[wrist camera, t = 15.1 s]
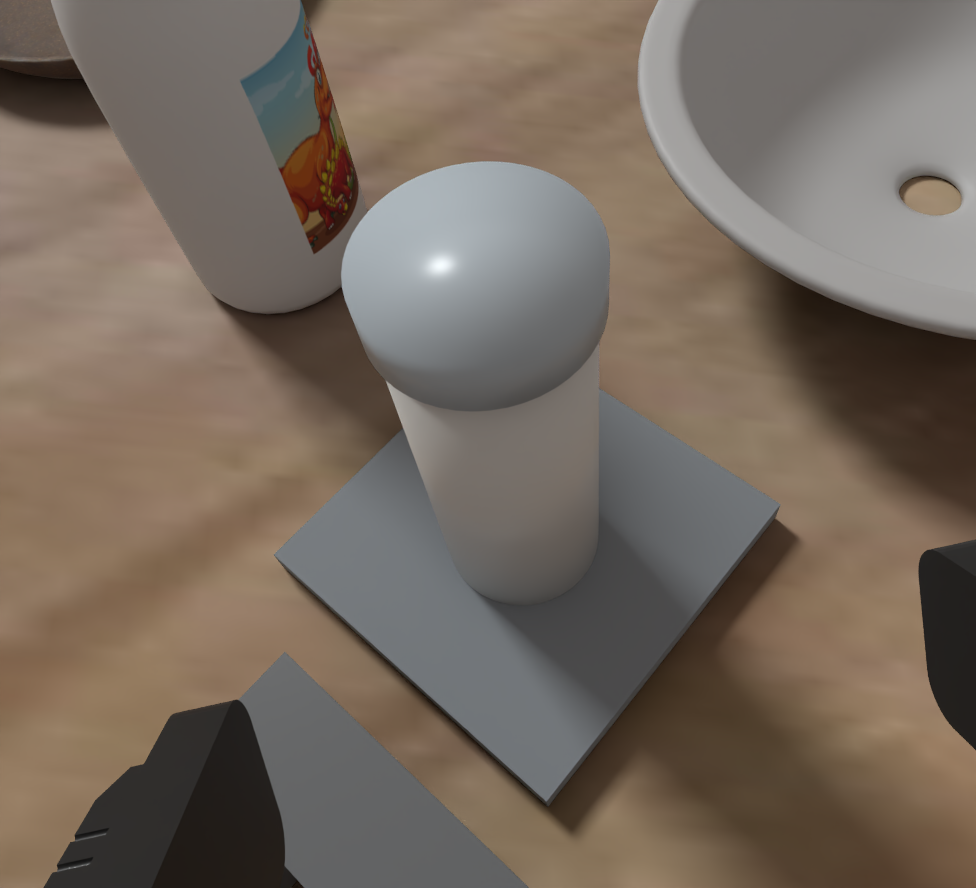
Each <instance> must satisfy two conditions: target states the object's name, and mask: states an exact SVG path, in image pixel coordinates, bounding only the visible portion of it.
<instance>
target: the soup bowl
mask: <svg viewBox="0 0 976 888" xmlns="http://www.w3.org/2000/svg"><path fill="white" fill-rule="evenodd" d="M638 92H639V99H640V106H641V111H642V114H643V117H644V121H645V124H646V128H647V131H648V135H649V137H650V139H651V141H652V143H653V146H654V148H655V150H656V152H657V155H658V157H659V159H660V160H661V162H662V163H663V165H664V167H665V168H666V170H667V172H668V173H669V175H670V177H671V178H672V180H673V181H674V182H675V184H676V185H677V186H678V187H679V189H680V190H681V191H682V192H683V194H684V195H685V196H686V198H687V199H688V200H689V201H690V202H691V203H692V205H693V206H694V207H695V208H696V209H697V210H698V211H699V212H700V213H701V214H702V215H703V216H704V217H705V218H706V219H707V220H708V221H709V222H710V223H711V224H712V225H713V226H715V227H716V228H717V229H718V230H719V231H721V232H722V233H723V234H724V235H725V236H727V237H728V238H729V239H730V240H731V241H732V242H734V243H735V244H736V245H737V246H739V247H740V248H742V249H743V250H745V251H746V252H748V253H749V254H750V255H752V256H753V257H755V258H756V259H758V260H759V261H761V262H762V263H763V264H765V265H767V266H768V267H770V268H772V269H774V270H775V271H777V272H779V273H780V274H782V275H784V276H786V277H787V278H789V279H791V280H793V281H794V282H796V283H798V284H800V285H802V286H804V287H806V288H809V289H811V290H813V291H815V292H817V293H819V294H821V295H823V296H825V297H828V298H830V299H832V300H834V301H837V302H839V303H842V304H845V305H847V306H850V307H852V308H855V309H858V310H860V311H863V312H865V313H868V314H871V315H874V316H877V317H880V318H884V319H887V320H890V321H894V322H897V323H900V324H904V325H907V326H910V327H914V328H919V329H923V330H927V331H932V332H936V333H941V334H945V335H949V336H954V337H960V338H966V339H973V340H976V0H659V1H658V3H657V5H656V7H655V9H654V11H653V13H652V15H651V17H650V19H649V22H648V25H647V28H646V31H645V34H644V37H643V41H642V44H641V49H640V55H639V62H638ZM917 176H935V177H939V178H942V179H945V180H947V181H949V182H951V183H952V184H953V185H954V186H956V188H957V189H958V190H959V192H960V194H961V197H962V202H961V206H960V207H959V209H958V210H956V211H955V212H953V213H950V214H946V215H940V216H932V215H926V214H922V213H919V212H916V211H914V210H912V209H911V208H909V207H908V206H907V205H906V204H905V203H904V202H903V201H902V199H901V198H900V195H899V190H900V187H901V186H902V184H903V183H904V182H906V181H907V180H909V179H911V178H913V177H917Z"/></svg>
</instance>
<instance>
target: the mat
mask: <svg viewBox="0 0 976 888" xmlns="http://www.w3.org/2000/svg"><path fill="white" fill-rule="evenodd" d="M780 505H781V504H779V503H778V502H776V501H775V500H773V499H771V498H770V497H768V496H767V495H765V494H764V493H762V492H760V491H759V490H757V489H756V488H754V487H753V486H751V485H750V484H748V483H746V482H745V481H743V480H742V479H740V478H739V477H737V476H735V475H734V474H732V473H731V472H729V471H728V470H726V469H725V468H723V467H721V466H720V465H718V464H717V463H715V462H714V461H712V460H711V459H709V458H707V457H706V456H704V455H703V454H701V453H700V452H698V451H696V450H695V449H693V448H692V447H690V446H689V445H687V444H686V443H684V442H682V441H681V440H679V439H678V438H676V437H675V436H673V435H671V434H670V433H668V432H667V431H665V430H664V429H662V428H661V427H659V426H657V425H656V424H654V423H653V422H651V421H650V420H648V419H646V418H645V417H643V416H642V415H640V414H639V413H637V412H636V411H634V410H632V409H631V408H629V407H628V406H626V405H625V404H623V403H621V402H620V401H618V400H617V399H615V398H614V397H612V396H611V395H609V394H607V393H606V392H604V391H603V390H601V389H600V388H599V536H598V546H597V550H596V554H595V557H594V559H593V562H592V564H591V566H590V567H589V569H588V571H587V572H586V573H585V575H584V576H583V578H582V579H581V580H580V581H579V582H578V583H577V584H576V585H575V586H573V587H572V588H571V589H570V590H568V591H567V592H565V593H564V594H562V595H560V596H559V597H556V598H554V599H552V600H549V601H546V602H543V603H539V604H533V605H509V604H504V603H500V602H497V601H494V600H491V599H489V598H487V597H485V596H483V595H481V594H480V593H478V592H477V591H475V590H474V589H473V588H472V587H470V586H469V585H468V584H467V583H466V582H465V581H464V579H463V578H462V577H461V576H460V574H459V572H458V571H457V569H456V567H455V565H454V563H453V561H452V558H451V555H450V553H449V550H448V547H447V545H446V542H445V539H444V537H443V534H442V531H441V528H440V526H439V523H438V520H437V518H436V515H435V512H434V510H433V507H432V504H431V501H430V499H429V496H428V493H427V491H426V488H425V485H424V483H423V480H422V477H421V474H420V472H419V469H418V466H417V464H416V461H415V458H414V456H413V453H412V450H411V448H410V445H409V442H408V439H407V437H406V434H405V431H404V429H403V428H402V429H401V430H400V431H399V432H398V433H397V434H396V435H395V436H394V437H393V438H392V439H391V440H390V441H389V442H388V443H387V444H386V445H385V446H384V447H383V448H382V449H381V450H380V451H379V452H378V453H377V454H376V455H375V456H374V457H373V458H372V459H371V460H370V461H369V462H368V463H367V464H366V465H365V466H364V467H363V468H362V469H361V470H360V471H359V472H358V473H356V474H355V475H354V476H353V477H352V478H351V479H350V480H349V481H348V482H347V483H346V484H345V485H344V486H343V487H342V488H341V489H340V490H339V491H338V492H337V493H336V494H335V495H334V496H333V497H332V498H331V499H330V500H329V501H328V502H327V503H326V504H325V505H324V506H323V507H322V508H321V509H320V510H319V511H318V512H317V513H316V514H315V515H314V516H313V517H312V518H311V519H310V520H309V521H308V522H307V523H306V524H304V525H303V526H302V527H301V528H300V529H299V530H298V531H297V532H296V533H295V534H294V535H293V536H292V537H291V538H290V539H289V540H288V541H287V542H286V543H285V544H284V545H283V546H282V547H281V548H280V549H279V550H278V551H277V552H276V553H275V554H274V556H275V557H276V558H277V560H278V561H279V562H280V563H281V565H282V566H283V567H284V568H285V569H287V570H288V571H289V572H290V573H291V574H292V575H293V576H294V577H295V578H296V579H298V580H299V581H300V582H301V583H302V584H303V585H304V586H305V587H306V588H307V589H309V590H310V591H311V592H312V593H313V594H314V595H315V596H316V597H317V598H319V599H320V600H321V601H322V602H323V603H324V604H325V605H326V606H327V607H328V608H330V609H331V610H332V611H333V612H334V613H335V614H336V615H337V616H338V617H339V618H341V619H342V620H343V621H344V622H345V623H346V624H347V625H348V626H349V627H350V628H352V629H353V630H354V631H355V632H356V633H357V634H358V635H359V636H360V637H361V638H363V639H364V640H365V641H366V642H367V643H368V644H369V645H370V646H371V647H373V648H374V649H375V650H376V651H377V652H378V653H379V654H380V655H381V656H382V657H384V658H385V659H386V660H387V661H388V662H389V663H390V664H391V665H392V666H393V667H395V668H396V669H397V670H398V671H399V672H400V673H401V674H402V675H403V676H404V677H406V678H407V679H408V680H409V681H410V682H411V683H412V684H413V685H414V686H416V687H417V688H418V689H419V690H420V691H421V692H422V693H423V694H424V695H425V696H427V697H428V698H429V699H430V700H431V701H432V702H433V703H434V704H435V705H436V706H438V707H439V708H440V709H441V710H442V711H443V712H444V713H445V714H446V715H447V716H449V717H450V718H451V719H452V720H453V721H454V722H455V723H456V724H457V725H459V726H460V727H461V728H462V729H463V730H464V731H465V732H466V733H467V734H468V735H470V736H471V737H472V738H473V739H474V740H475V741H476V742H477V743H478V744H479V745H481V746H482V747H483V748H484V749H485V750H486V751H487V752H488V753H489V754H490V755H492V756H493V757H494V758H495V759H496V760H497V761H498V762H499V763H500V764H502V765H503V766H504V767H505V768H506V769H507V770H508V771H509V772H510V773H511V774H513V775H514V776H515V777H516V778H517V779H518V780H519V781H520V782H521V783H522V784H524V785H525V786H526V787H527V788H528V789H529V790H530V791H531V792H532V793H533V794H535V795H536V796H537V797H538V798H539V799H540V800H541V801H542V802H543V803H545V804H546V805H547V806H549V805H550V804H551V802H552V801H553V800H554V799H555V797H556V796H557V795H558V793H559V792H560V791H561V790H562V788H563V787H564V786H565V785H566V783H567V782H568V781H569V779H570V778H571V777H572V776H573V774H574V773H575V772H576V771H577V769H578V768H579V767H580V765H581V764H582V763H583V762H584V760H585V759H586V758H587V757H588V755H589V754H590V753H591V751H592V750H593V749H594V748H595V746H596V745H597V744H598V743H599V741H600V740H601V739H602V737H603V736H604V735H605V734H606V732H607V731H608V730H609V729H610V727H611V726H612V725H613V723H614V722H615V721H616V720H617V718H618V717H619V716H620V715H621V713H622V712H623V711H624V709H625V708H626V707H627V706H628V704H629V703H630V702H631V700H632V699H633V698H634V697H635V695H636V694H637V693H638V692H639V690H640V689H641V688H642V686H643V685H644V684H645V683H646V681H647V680H648V679H649V678H650V676H651V675H652V674H653V672H654V671H655V670H656V669H657V667H658V666H659V665H660V664H661V662H662V661H663V660H664V658H665V657H666V656H667V655H668V653H669V652H670V651H671V650H672V648H673V647H674V646H675V644H676V643H677V642H678V641H679V639H680V638H681V637H682V636H683V634H684V633H685V632H686V630H687V629H688V628H689V627H690V625H691V624H692V623H693V622H694V620H695V619H696V618H697V616H698V615H699V614H700V613H701V611H702V610H703V609H704V608H705V606H706V605H707V604H708V602H709V601H710V600H711V599H712V597H713V596H714V595H715V594H716V592H717V591H718V590H719V588H720V587H721V586H722V585H723V583H724V582H725V581H726V580H727V578H728V577H729V576H730V574H731V573H732V572H733V571H734V569H735V568H736V567H737V566H738V564H739V563H740V562H741V560H742V559H743V558H744V557H745V555H746V554H747V553H748V552H749V550H750V549H751V548H752V546H753V545H754V544H755V543H756V541H757V540H758V539H759V538H760V536H761V535H762V534H763V532H764V531H765V530H766V529H767V527H768V526H769V525H770V524H771V522H772V521H773V520H774V518H775V517H776V515H777V512H778V510H779V507H780Z"/></svg>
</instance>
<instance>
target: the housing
mask: <svg viewBox="0 0 976 888" xmlns="http://www.w3.org/2000/svg"><path fill="white" fill-rule="evenodd" d="M239 701H241V702H242V703H243V704H244V706H245V707H246V709H247V711H248V713H249V716H250V718H251V721H252V724H253V728H254V731H255V734H256V737H257V740H258V744H259V747H260V750H261V753H262V756H263V760H264V763H265V766H266V769H267V772H268V776H269V779H270V782H271V785H272V788H273V791H274V795H275V798H276V801H277V804H278V807H279V811H280V814H281V819H282V823H283V830H284V838H285V865H284V872H283V877H282V881H281V885H280V888H291V887H292V886H293V885H294V884H295V882H296V881H297V880H298V881H299V882H300V884H301V885H302V886H303V887H304V888H529V887H528V886H527V885H526V884H525V883H523V882H522V881H521V880H520V879H519V878H518V877H517V876H516V875H515V874H514V873H513V872H512V871H511V870H510V869H509V868H508V867H507V866H506V865H505V864H504V863H503V862H502V861H501V860H500V859H499V858H498V857H497V856H496V855H494V854H493V853H492V852H491V851H490V850H489V849H488V848H487V847H486V846H485V845H484V844H483V843H482V842H481V841H480V840H479V839H478V838H477V837H476V836H475V835H474V834H473V833H472V832H471V831H470V830H469V829H468V828H467V827H466V826H464V825H463V824H462V823H461V822H460V821H459V820H458V819H457V818H456V817H455V816H454V815H453V814H452V813H451V812H450V811H449V810H448V809H447V808H446V807H445V806H444V805H443V804H442V803H441V802H440V801H439V800H438V799H437V798H435V797H434V796H433V795H432V794H431V793H430V792H429V791H428V790H427V789H426V788H425V787H424V786H423V785H422V784H421V783H420V782H419V781H418V780H417V779H416V778H415V777H414V776H413V775H412V774H411V773H410V772H409V771H408V770H406V769H405V768H404V767H403V766H402V765H401V764H400V763H399V762H398V761H397V760H396V759H395V758H394V757H393V756H392V755H391V754H390V753H389V752H388V751H387V750H386V749H385V748H384V747H383V746H382V745H381V744H380V743H379V742H378V741H376V740H375V739H374V738H373V737H372V736H371V735H370V734H369V733H368V732H367V731H366V730H365V729H364V728H363V727H362V726H361V725H360V724H359V723H358V722H357V721H356V720H355V719H354V718H353V717H352V716H351V715H350V714H349V713H347V712H346V711H345V710H344V709H343V708H342V707H341V706H340V705H339V704H338V703H337V702H336V701H335V700H334V699H333V698H332V697H331V696H330V695H329V694H328V693H327V692H326V691H325V690H324V689H323V688H322V687H321V686H320V685H318V684H317V683H316V682H315V681H314V680H313V679H312V678H311V677H310V676H309V675H308V674H307V673H306V672H305V671H304V670H303V669H302V668H301V667H300V666H299V665H298V664H297V663H296V662H295V661H294V660H293V659H292V658H291V657H290V656H288V655H287V654H286V653H285V652H284V653H283V654H282V655H281V656H280V657H279V658H278V660H277V661H276V662H275V663H274V664H273V665H272V666H271V667H270V668H269V669H268V670H267V671H266V672H265V673H264V674H263V675H262V676H261V677H260V678H259V679H258V680H257V681H256V682H255V683H254V684H253V685H252V686H251V687H250V688H249V690H248V691H247V692H246V693H245V694H244V695H243V696H242V697H241V698H240V699H239Z"/></svg>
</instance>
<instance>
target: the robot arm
mask: <svg viewBox="0 0 976 888" xmlns="http://www.w3.org/2000/svg"><path fill="white" fill-rule="evenodd" d="M919 585H920V595H921V606H922V617H923V628H924V639H925V650H926V661H927V671H928V677H929V682H930V685H931V689H932V692H933V694H934V697H935V699H936V702H937V704H938V706H939V708H940V710H941V712H942V713H943V715H944V717H945V718H946V720H947V721H948V722H949V724H950V725H951V726H952V727H953V728H954V729H955V730H956V731H957V732H958V733H959V734H960V735H961V736H962V737H963V738H964V739H965V740H966V741H967V742H968V743H969V744H970V745H971V746H972V747H973V748H974V749H975V750H976V540H972V541H967V542H963V543H958V544H954V545H949V546H944V547H940V548H935V549H931V550H927V551H925V552H924V553H923V554H922V556H921V558H920V562H919ZM284 865H285V838H284V830H283V823H282V819H281V814H280V811H279V807H278V804H277V801H276V798H275V795H274V791H273V788H272V785H271V782H270V779H269V776H268V772H267V769H266V766H265V763H264V760H263V756H262V753H261V750H260V747H259V744H258V740H257V737H256V734H255V731H254V728H253V724H252V721H251V718H250V716H249V713H248V711H247V709H246V707H245V706H244V704H243V703H242V702H241V701H239V700H233V701H229V702H224V703H220V704H215V705H210V706H206V707H201V708H197V709H192V710H188V711H183V712H178V713H175V714H173V715H171V716H170V718H169V719H168V721H167V723H166V724H165V726H164V728H163V730H162V732H161V734H160V736H159V737H158V739H157V741H156V743H155V745H154V747H153V748H152V750H151V752H150V754H149V756H148V758H147V759H146V761H145V763H144V764H143V765H138V766H134V767H130V768H129V769H128V770H127V771H126V772H125V773H124V774H123V775H122V776H121V777H120V778H119V779H118V780H117V781H116V782H114V783H113V784H112V785H111V786H110V787H109V788H108V789H107V790H106V791H105V792H104V793H103V794H102V795H101V796H100V797H98V798H97V799H96V800H95V802H94V804H93V805H92V807H91V809H90V810H89V812H88V814H87V815H86V817H85V819H84V820H83V822H82V824H81V825H80V827H79V829H78V830H77V832H76V834H75V841H74V842H70V844H69V846H68V847H67V849H66V851H65V852H64V854H63V856H62V857H61V859H60V861H59V863H58V864H57V867H58V870H57V872H54V873H52V874H51V876H50V878H49V879H48V881H47V883H46V884H45V886H44V888H280V885H281V881H282V877H283V872H284Z"/></svg>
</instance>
